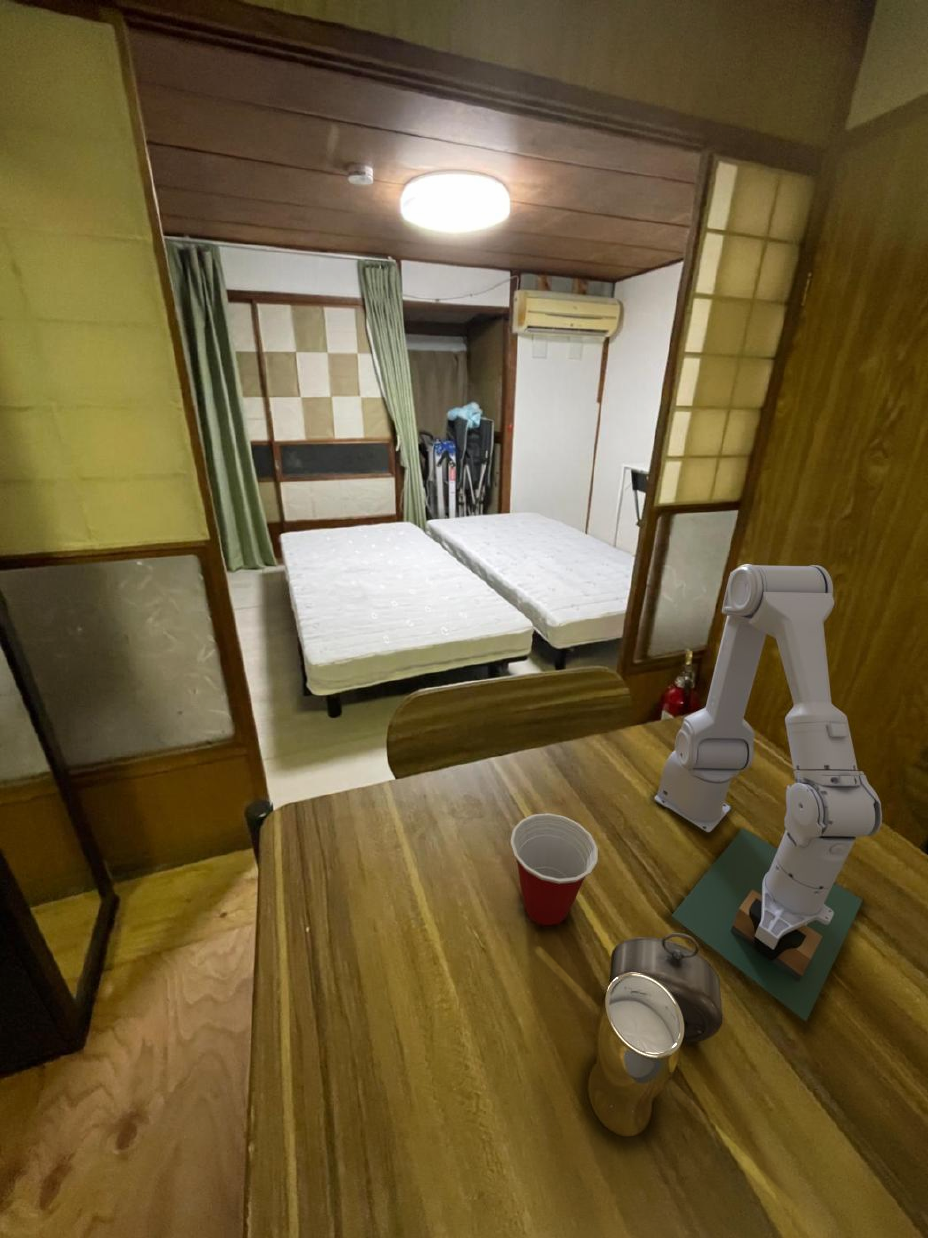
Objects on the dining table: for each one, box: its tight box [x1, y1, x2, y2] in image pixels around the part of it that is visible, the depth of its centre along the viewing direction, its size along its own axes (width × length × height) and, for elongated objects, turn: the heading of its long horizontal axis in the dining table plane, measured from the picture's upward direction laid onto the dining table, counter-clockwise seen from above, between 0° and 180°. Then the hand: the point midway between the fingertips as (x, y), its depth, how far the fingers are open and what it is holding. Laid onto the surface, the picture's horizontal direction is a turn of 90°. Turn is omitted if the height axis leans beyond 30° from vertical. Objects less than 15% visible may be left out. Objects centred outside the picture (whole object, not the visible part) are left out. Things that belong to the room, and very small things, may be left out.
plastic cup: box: [510, 812, 599, 927], centre depth 66 cm, size 11×11×12 cm
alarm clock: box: [608, 932, 724, 1043], centre depth 53 cm, size 11×5×16 cm, turn 71°
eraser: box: [731, 890, 822, 982], centre depth 63 cm, size 8×4×4 cm, turn 41°
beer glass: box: [587, 972, 684, 1137], centre depth 48 cm, size 7×7×15 cm
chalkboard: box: [671, 827, 864, 1022], centre depth 69 cm, size 16×22×1 cm
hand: (771, 941), depth 64 cm, fingers closed on eraser, 4 cm apart
